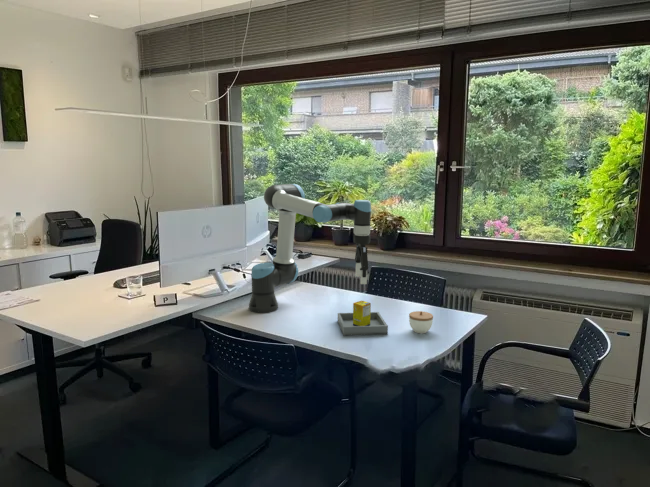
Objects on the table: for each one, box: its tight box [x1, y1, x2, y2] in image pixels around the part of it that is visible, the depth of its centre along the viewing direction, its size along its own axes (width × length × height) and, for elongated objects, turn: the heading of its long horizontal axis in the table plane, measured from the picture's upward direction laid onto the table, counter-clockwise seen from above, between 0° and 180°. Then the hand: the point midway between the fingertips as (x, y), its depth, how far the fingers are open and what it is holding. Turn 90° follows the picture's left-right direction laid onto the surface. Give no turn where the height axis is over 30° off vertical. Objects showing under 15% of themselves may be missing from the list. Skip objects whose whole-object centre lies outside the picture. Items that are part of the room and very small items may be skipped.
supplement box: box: [352, 300, 372, 326], centre depth 227 cm, size 6×6×11 cm
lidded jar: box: [408, 310, 434, 334], centre depth 223 cm, size 11×11×9 cm
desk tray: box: [337, 311, 389, 337], centre depth 228 cm, size 20×20×4 cm
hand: (360, 280), depth 225 cm, fingers open, 13 cm apart
